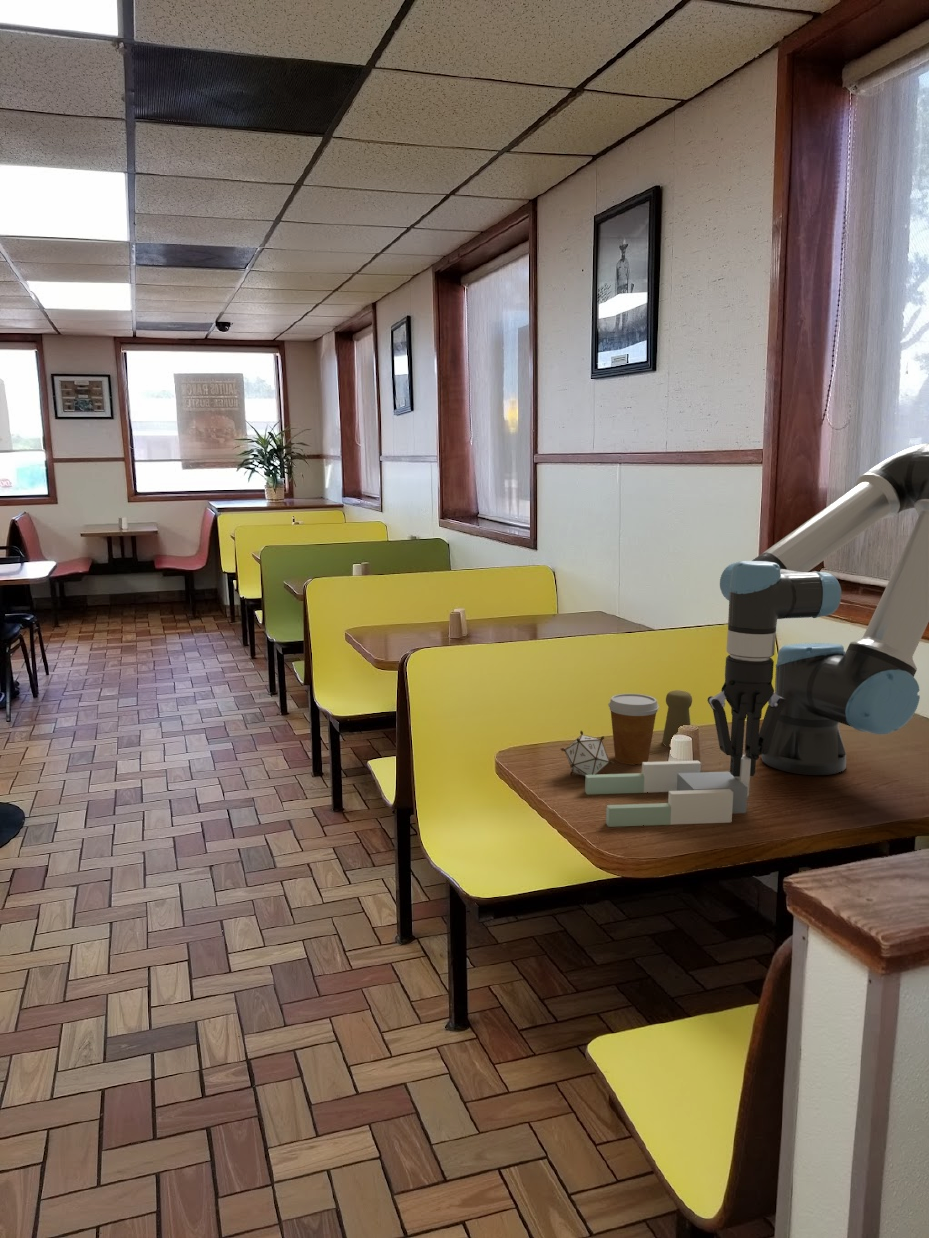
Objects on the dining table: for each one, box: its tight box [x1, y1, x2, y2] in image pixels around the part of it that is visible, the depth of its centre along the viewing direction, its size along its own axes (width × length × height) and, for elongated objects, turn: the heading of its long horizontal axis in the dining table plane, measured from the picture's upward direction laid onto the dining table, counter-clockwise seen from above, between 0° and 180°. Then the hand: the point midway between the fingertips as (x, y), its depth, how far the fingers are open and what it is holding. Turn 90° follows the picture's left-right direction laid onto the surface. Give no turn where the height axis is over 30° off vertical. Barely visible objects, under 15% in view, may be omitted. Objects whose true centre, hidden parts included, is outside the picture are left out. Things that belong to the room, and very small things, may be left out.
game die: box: [560, 730, 614, 777], centre depth 168 cm, size 9×8×10 cm
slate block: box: [677, 770, 748, 815], centre depth 155 cm, size 9×8×4 cm
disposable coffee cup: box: [607, 693, 660, 766], centre depth 178 cm, size 10×10×12 cm
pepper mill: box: [661, 689, 693, 748], centre depth 188 cm, size 6×6×11 cm
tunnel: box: [584, 760, 733, 828], centre depth 154 cm, size 20×16×5 cm
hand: (741, 794), depth 156 cm, fingers closed
